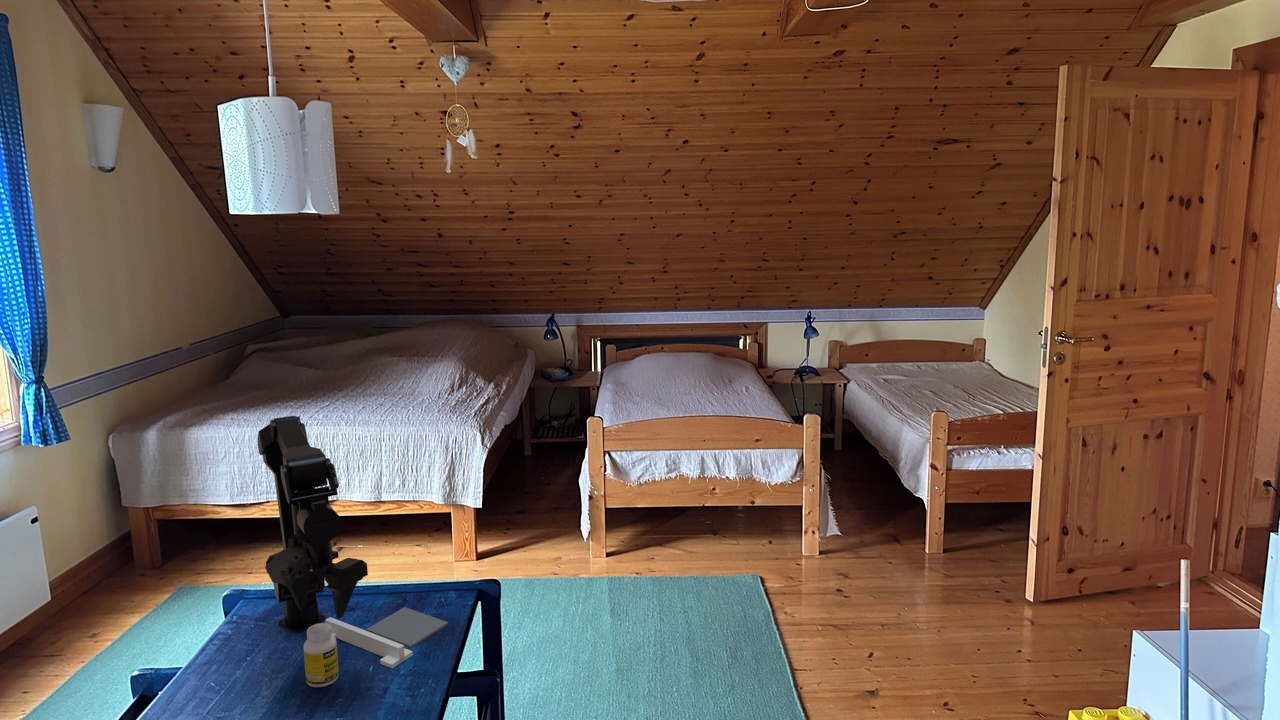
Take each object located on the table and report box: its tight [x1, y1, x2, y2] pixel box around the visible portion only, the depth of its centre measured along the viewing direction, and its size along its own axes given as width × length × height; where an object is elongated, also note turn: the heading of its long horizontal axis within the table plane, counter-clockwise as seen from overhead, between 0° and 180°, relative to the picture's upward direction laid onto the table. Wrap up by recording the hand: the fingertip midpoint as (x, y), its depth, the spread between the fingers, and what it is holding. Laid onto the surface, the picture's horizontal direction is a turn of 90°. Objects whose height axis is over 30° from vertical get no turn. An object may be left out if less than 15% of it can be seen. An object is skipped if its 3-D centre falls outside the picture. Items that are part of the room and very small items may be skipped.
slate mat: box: [365, 606, 449, 649], centre depth 161 cm, size 12×10×1 cm
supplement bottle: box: [303, 622, 340, 688], centre depth 143 cm, size 5×5×10 cm
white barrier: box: [324, 617, 413, 669], centre depth 154 cm, size 20×5×3 cm, turn 60°
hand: (321, 613), depth 142 cm, fingers open, 9 cm apart
